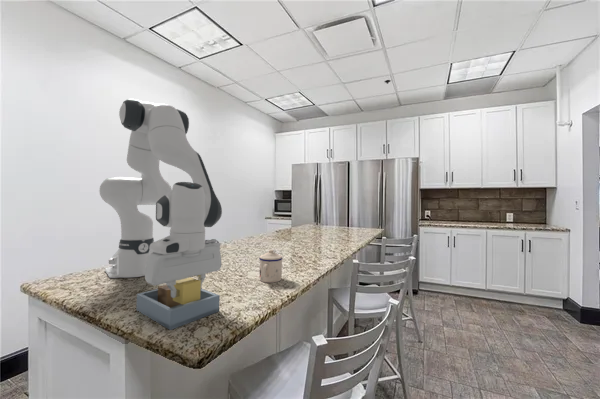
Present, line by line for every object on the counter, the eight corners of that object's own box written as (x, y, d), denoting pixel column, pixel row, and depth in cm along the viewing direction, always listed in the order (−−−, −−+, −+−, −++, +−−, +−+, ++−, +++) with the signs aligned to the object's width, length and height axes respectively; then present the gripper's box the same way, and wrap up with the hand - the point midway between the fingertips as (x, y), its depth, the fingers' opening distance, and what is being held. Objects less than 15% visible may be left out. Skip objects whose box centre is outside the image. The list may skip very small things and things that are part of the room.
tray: (136, 310, 75) (136, 294, 75) (183, 296, 86) (184, 282, 86) (170, 330, 64) (170, 311, 64) (219, 311, 75) (219, 295, 75)
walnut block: (157, 304, 77) (157, 286, 77) (174, 299, 81) (174, 282, 81) (166, 308, 74) (166, 290, 74) (183, 303, 78) (184, 285, 78)
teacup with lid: (263, 275, 112) (264, 247, 112) (284, 277, 110) (285, 248, 110) (252, 284, 100) (252, 252, 100) (275, 286, 98) (276, 254, 98)
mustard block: (172, 300, 72) (173, 281, 72) (189, 295, 76) (190, 277, 76) (182, 304, 69) (183, 285, 69) (200, 299, 73) (200, 280, 73)
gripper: (213, 237, 83) (212, 282, 83) (142, 245, 67) (141, 301, 66) (226, 239, 79) (225, 286, 79) (155, 248, 63) (153, 308, 63)
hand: (186, 293), depth 73 cm, fingers closed on mustard block, 5 cm apart
